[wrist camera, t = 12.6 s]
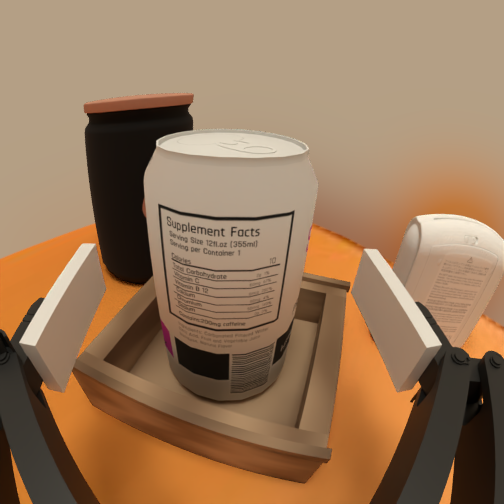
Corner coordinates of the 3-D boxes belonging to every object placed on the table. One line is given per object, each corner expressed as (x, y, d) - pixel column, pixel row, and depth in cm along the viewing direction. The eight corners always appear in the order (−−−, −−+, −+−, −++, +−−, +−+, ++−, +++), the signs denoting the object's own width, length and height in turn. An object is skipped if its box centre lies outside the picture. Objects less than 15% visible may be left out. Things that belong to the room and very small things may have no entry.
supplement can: (148, 353, 21) (113, 141, 13) (228, 306, 26) (235, 124, 18) (222, 428, 16) (223, 176, 8) (304, 358, 21) (352, 150, 14)
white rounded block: (452, 325, 26) (500, 220, 20) (463, 355, 23) (524, 243, 16) (366, 317, 27) (405, 196, 21) (371, 350, 24) (423, 219, 17)
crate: (90, 404, 17) (65, 362, 15) (180, 287, 30) (177, 244, 27) (307, 483, 14) (330, 459, 11) (336, 325, 26) (350, 282, 24)
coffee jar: (161, 299, 28) (147, 98, 18) (86, 270, 31) (61, 107, 21) (210, 248, 37) (213, 93, 27) (140, 230, 39) (133, 95, 30)
